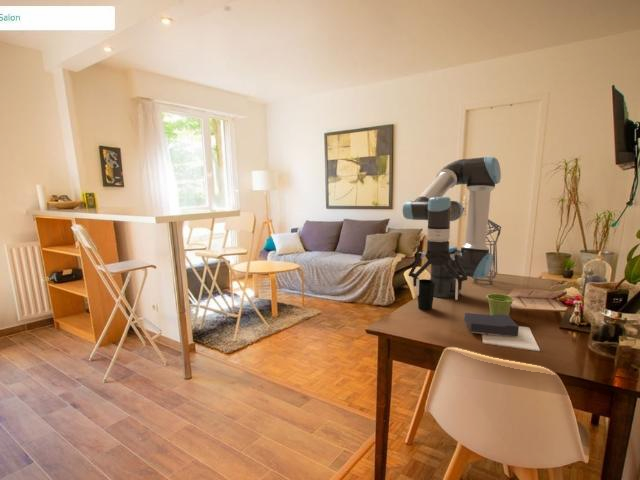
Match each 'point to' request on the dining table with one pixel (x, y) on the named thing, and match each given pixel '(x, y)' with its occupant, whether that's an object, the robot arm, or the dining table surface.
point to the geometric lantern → (493, 250)
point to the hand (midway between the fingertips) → (436, 296)
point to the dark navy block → (491, 324)
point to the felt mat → (513, 340)
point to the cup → (426, 294)
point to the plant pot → (499, 304)
